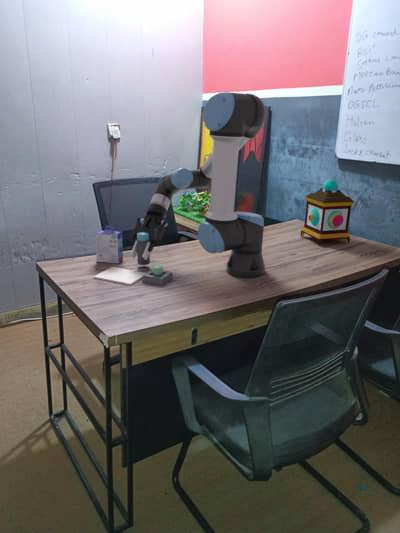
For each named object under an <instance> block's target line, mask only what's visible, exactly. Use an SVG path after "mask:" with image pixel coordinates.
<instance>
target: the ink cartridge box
mask: <svg viewBox="0 0 400 533" xmlns="http://www.w3.org/2000/svg"><path fill="white" fill-rule="evenodd" d="M109 228H110V229H109ZM114 229H115V226H113V225H105V228H104V230H98V231H97V232H96V233H94V237H95V238H94V239H95V254H96V262H99V263H110V264H120V263H121V262H123V261H124V249H123V248H124V247H123V246H124V245H123V232H122V231H116V230H115V231H114Z"/></svg>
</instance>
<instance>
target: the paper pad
mask: <svg viewBox="0 0 400 533" xmlns="http://www.w3.org/2000/svg"><path fill="white" fill-rule="evenodd" d="M146 273H147V272H144V271H139V270H138V271H137V270H132V269H127V268H122V267H115V266H110V267H109V268H107V269H106V270H103V271H101V272H99V273H97V274H95V275H94V276H93V278H94V279H96V280H102V281H107V282H113V283H118V284H122V285H127V286H132V285H134V284H135V283H137V282H138V281H139V282H140V280H143V275H144V274H146Z"/></svg>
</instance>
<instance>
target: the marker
mask: <svg viewBox="0 0 400 533" xmlns="http://www.w3.org/2000/svg"><path fill="white" fill-rule="evenodd" d="M149 236H150V235H149V232H146V233H145V232H141V233H137V254H136V256H137V265H140V266H148V265H150V263H151V258H150V254H151V252H150V253H149V255H148V258H147V260H145V259H144V258H143V257H142V256H143V253H144V251H145V248H146V246H147V243H148V242H150V239H149Z"/></svg>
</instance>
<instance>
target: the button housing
mask: <svg viewBox="0 0 400 533" xmlns="http://www.w3.org/2000/svg"><path fill="white" fill-rule="evenodd" d="M145 273H146V274H144V275H143V278H142V282H143V283H147V284H153V285H158V286H164V285H165V284H166V283H168V282H170V280H172V279H173V271H169V270H164V269H163V275H162V276H160V277H159V276H153V275H152V269H151V270H149V271H147V272H145Z"/></svg>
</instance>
